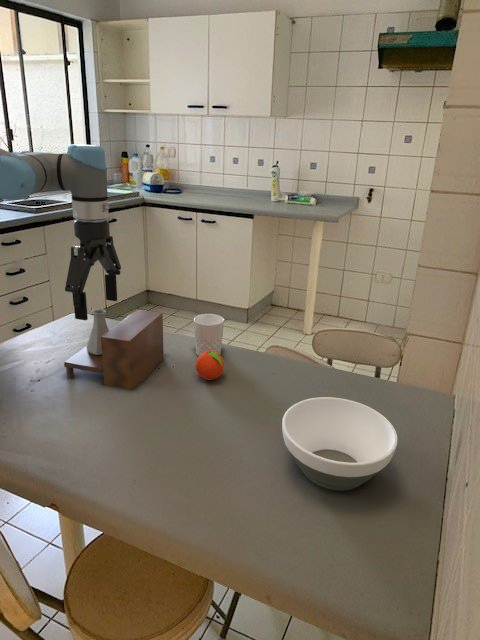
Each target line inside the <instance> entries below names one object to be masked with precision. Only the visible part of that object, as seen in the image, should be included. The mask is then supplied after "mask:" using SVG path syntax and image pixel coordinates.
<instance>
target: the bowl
mask: <svg viewBox="0 0 480 640" xmlns="http://www.w3.org/2000/svg"><path fill="white" fill-rule="evenodd" d="M281 427H282V428H281V429H282V430H281V431H282V437H283V441H284V444H285V446H286V448H287V450H288V452H289V454H290V455H291V457H292V458H293V460H294V462H295V463H296V465H297V466H298V468H299V469H300V470H301V471H302V473H303V474H304V475H305V477H306V478H307V479H308V480H309V481H311V482H312V483H314V484H315V485H317V486H320V487H321V488H324V489H328V490H330V491H331V490H332V491H349V490H353V489H357V488H358V487H359V486H361V485H362V484H365V483H366V482H368V481H370V480H371V479H372V478H373V477H375V475H378V474H379V473H380V472H381V471H382V470H383V469H385V468H386V467H387V465H388V464H389V463H390V462H391V460H392V459H393V457H394V455H395V452H396V450H397V446H398V434H397V430H396V429H395V427H394V426H393V424H392V423H391V422H390V421H389V420H388V419H387V418H386V417H385V416H384V415H382V414H381V413H380V412H379V411H378V410H375V409H373V408H372V407H370V406H368V405H365V404H363V403H361V402H359V401H358V402H357V401H355V400H351V399H347V398H340V397H332V396H323V397H321V396H319V397H311V398H307V399H303V400H301V401H299V402H296V403H294V404H292V405H291V406H290V407H289V408H288V409H287V410H286V411H285V413H284V414H283V416H282V423H281ZM323 450H330V451H336V452H339V453H343V454H345V455H347V456H349V457H350V458H352V459H353V460H354V461H355V462H347V461H338V460H334V459H329V458H325V457H322V456H320V455H317V454H315V452H318V451H323Z"/></svg>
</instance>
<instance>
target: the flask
mask: <svg viewBox="0 0 480 640" xmlns="http://www.w3.org/2000/svg"><path fill="white" fill-rule="evenodd" d="M91 313H92V316H93V324H92V327H91V331H90V334H89V338H88V341H87V344H86V346H87V350H88V352H90V353H93V354H95V355H99V354H102V349H101V336H102V335H104V334H105V333H106V332H108V331H109V330H110V329H109V327H108V324H107V321H106V314H107V311H106V309H103V308H96V309H94V310H92V311H91Z"/></svg>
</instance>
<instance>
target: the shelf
mask: <svg viewBox="0 0 480 640" xmlns="http://www.w3.org/2000/svg"><path fill="white" fill-rule="evenodd" d="M163 316H164V314H163V312H158V311H153V310H152V311H150V310H143V309H136V310H135V311H133V312H132V313H130V314H129V315H128V316H127V317H125V318H124V319H123V320H121V321H120V322H118V323H117V324H115V325H114V326H113V327H111V329H109V331H108V332H106V333H105V334H104V335H102V336H101V349H102V354H99V355H95V354H93V353H90V352H88V350H87V345H86V346H84V347H82V348H81V349H80V350H79V351H77V352H76V353H75V354H73V355H72V356H70V357H69V358H67V360H65V361H63V365H64V368H66V371H65V372H66V378H67V379H73V378H75V370H81V371H86V372H93V373H98V374H103V384H104V386H109V387H115V388H121V389H126V390H132V391H133V389H134V388H135V387H136V386H137V385H138V384H139V383H140V384H142V383H143V382H144V381H145V380H146V379H147V377H148V376H150V375H151V373H153V371H154V370H155V369H156V368H157V367H158V366H159V365H160V363H162V361H164V360H165V359H164V357H165V356H164V354H165V353H164V317H163ZM74 369H75V370H74Z"/></svg>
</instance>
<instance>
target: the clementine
mask: <svg viewBox="0 0 480 640" xmlns="http://www.w3.org/2000/svg"><path fill="white" fill-rule="evenodd" d="M224 369H225V360H224V358H223V357H222V356H221V354H220V355H219V354H218V353H216V352H214V351H206V352H204V353H202V354H201V355H200V356H198V357H197V359H196V361H195V370H196V373H197V374H198V375H199V376H200V377H201V378H202V379H205V380H208V381H213V380H215V379H218V378H219V377H220V376H221V375H222V374H223V372H224Z"/></svg>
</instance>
